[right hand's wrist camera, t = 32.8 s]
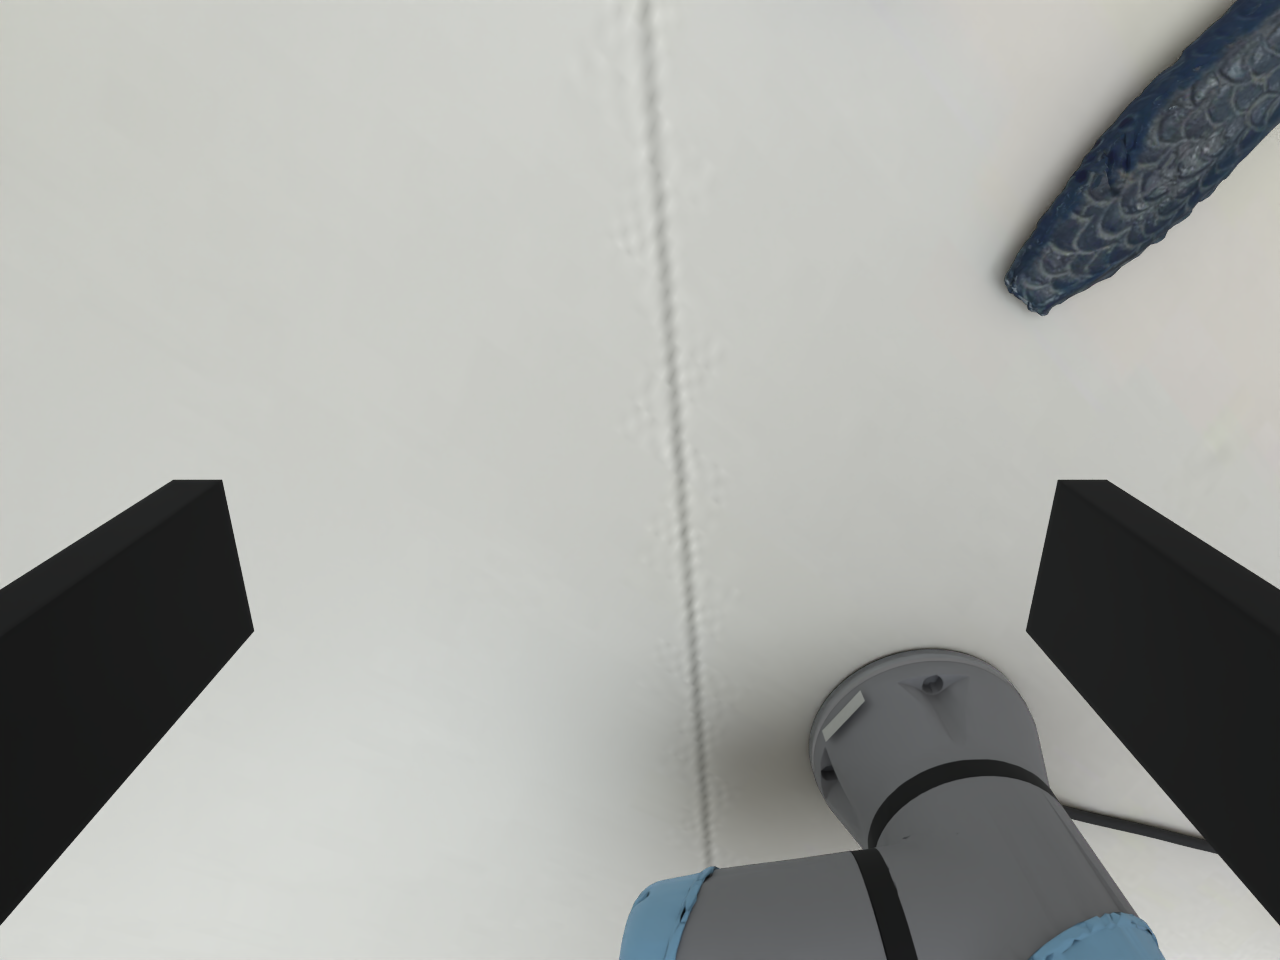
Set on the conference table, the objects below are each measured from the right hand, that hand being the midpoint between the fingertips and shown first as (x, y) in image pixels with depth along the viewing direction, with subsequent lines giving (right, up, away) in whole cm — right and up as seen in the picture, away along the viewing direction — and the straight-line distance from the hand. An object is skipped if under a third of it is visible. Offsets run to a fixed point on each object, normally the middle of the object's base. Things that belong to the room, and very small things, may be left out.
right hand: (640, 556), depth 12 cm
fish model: (+27, +19, +28) cm, 44 cm away
